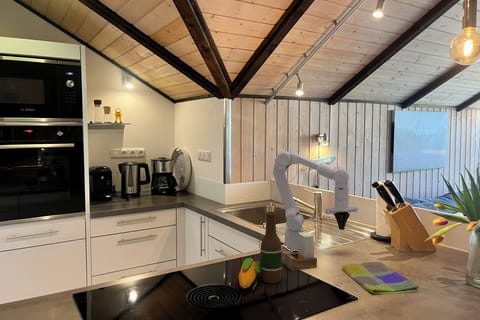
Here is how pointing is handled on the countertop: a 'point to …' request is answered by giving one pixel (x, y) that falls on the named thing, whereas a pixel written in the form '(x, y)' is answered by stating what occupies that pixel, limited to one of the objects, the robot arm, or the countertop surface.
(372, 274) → the dish towel
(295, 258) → the caddy
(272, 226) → the beer bottle
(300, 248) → the skincare box
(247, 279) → the corn
